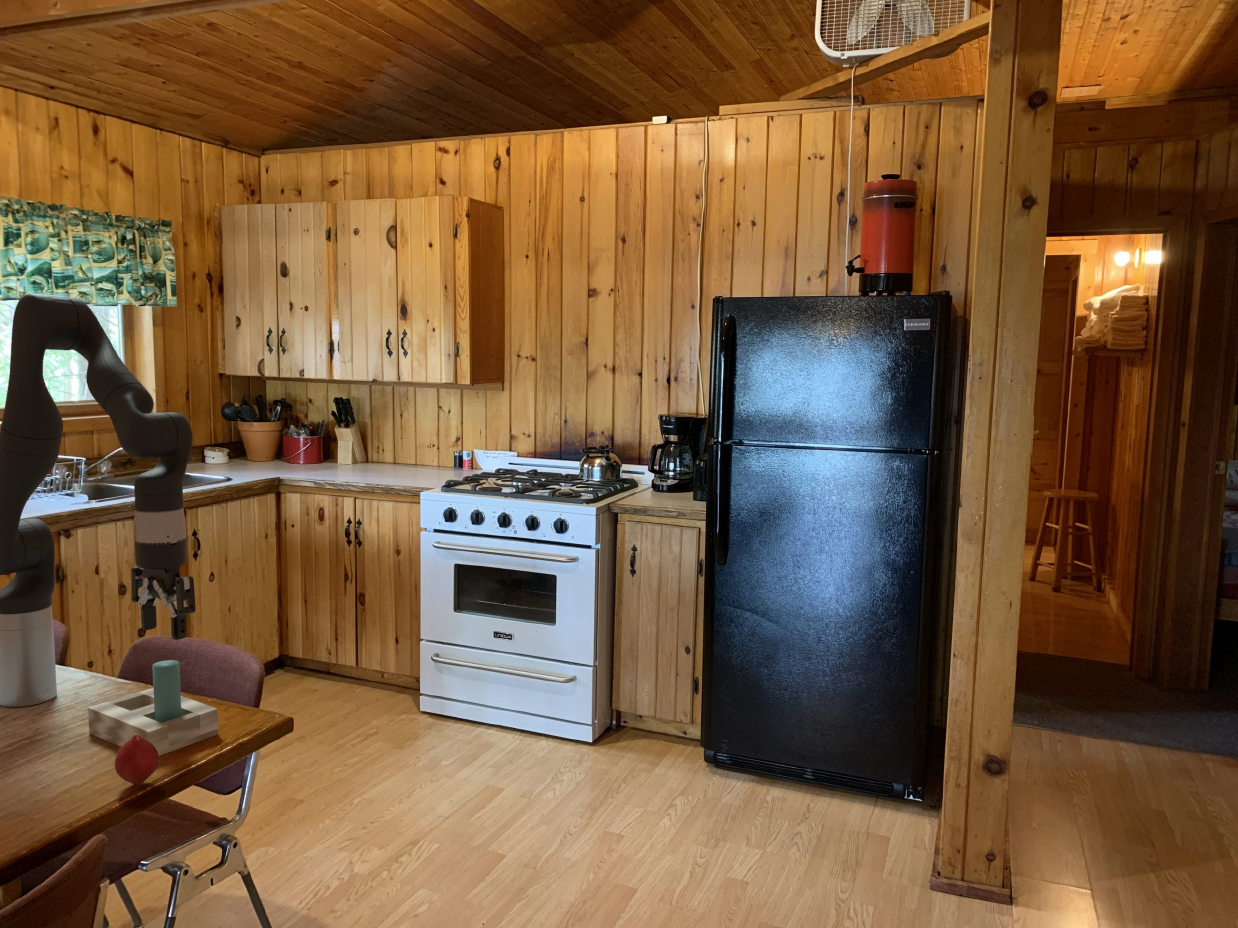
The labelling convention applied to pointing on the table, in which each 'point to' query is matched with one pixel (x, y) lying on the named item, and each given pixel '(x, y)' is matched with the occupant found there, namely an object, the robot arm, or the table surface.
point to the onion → (136, 760)
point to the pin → (166, 690)
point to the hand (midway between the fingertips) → (164, 633)
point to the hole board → (152, 722)
